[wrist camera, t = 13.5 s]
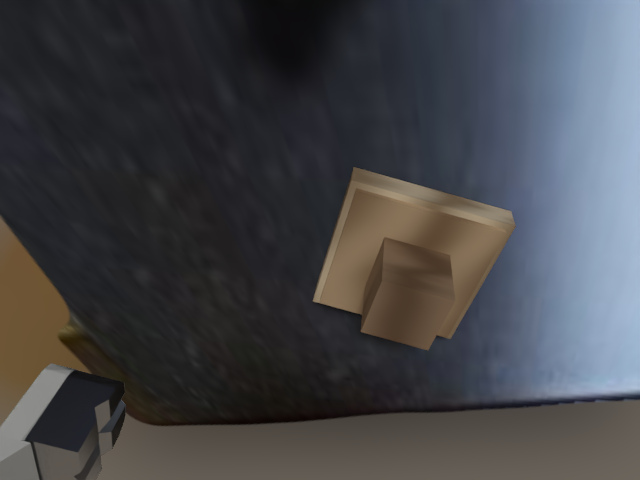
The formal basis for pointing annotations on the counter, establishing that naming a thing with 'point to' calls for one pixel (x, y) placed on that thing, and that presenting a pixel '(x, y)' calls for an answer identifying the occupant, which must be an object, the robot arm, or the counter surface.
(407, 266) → the cube
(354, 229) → the square wooden base
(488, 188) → the counter surface
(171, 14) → the counter surface
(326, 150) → the counter surface
